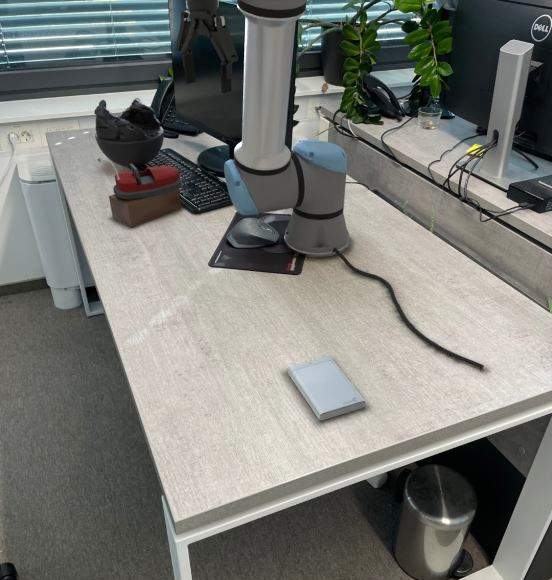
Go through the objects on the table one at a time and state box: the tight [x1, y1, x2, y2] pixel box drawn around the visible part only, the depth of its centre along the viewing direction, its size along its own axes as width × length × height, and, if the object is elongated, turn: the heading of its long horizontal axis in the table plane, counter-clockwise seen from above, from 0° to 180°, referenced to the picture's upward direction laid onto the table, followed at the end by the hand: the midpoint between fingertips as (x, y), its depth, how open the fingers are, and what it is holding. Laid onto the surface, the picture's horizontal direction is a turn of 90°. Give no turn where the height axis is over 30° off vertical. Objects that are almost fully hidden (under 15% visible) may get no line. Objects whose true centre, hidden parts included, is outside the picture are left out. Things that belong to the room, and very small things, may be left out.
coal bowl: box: [94, 97, 165, 168], centre depth 171 cm, size 20×20×19 cm
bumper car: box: [97, 157, 183, 200], centre depth 144 cm, size 10×20×10 cm, turn 120°
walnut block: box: [108, 188, 182, 228], centre depth 149 cm, size 8×16×6 cm, turn 137°
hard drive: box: [287, 356, 366, 421], centre depth 96 cm, size 2×8×12 cm
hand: (208, 87), depth 147 cm, fingers open, 13 cm apart
